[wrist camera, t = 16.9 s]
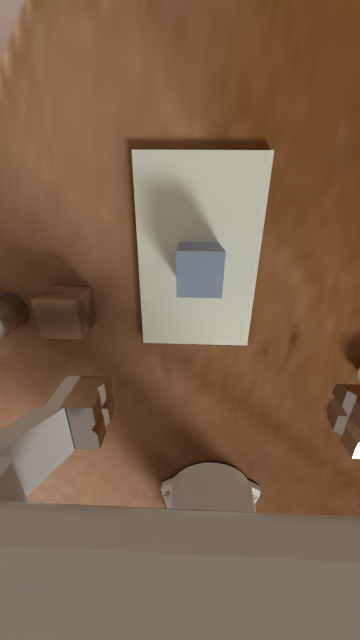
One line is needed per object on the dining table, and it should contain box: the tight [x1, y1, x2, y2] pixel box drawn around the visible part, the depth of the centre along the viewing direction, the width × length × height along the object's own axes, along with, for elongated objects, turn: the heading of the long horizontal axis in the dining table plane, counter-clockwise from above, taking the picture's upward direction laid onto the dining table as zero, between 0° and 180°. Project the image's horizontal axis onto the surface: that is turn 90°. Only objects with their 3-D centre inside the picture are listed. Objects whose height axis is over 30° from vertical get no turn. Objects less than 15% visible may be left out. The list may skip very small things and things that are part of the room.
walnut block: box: [30, 286, 96, 339], centre depth 31 cm, size 5×5×5 cm
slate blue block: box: [176, 242, 226, 298], centre depth 26 cm, size 4×4×6 cm
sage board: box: [132, 150, 274, 345], centre depth 30 cm, size 22×14×1 cm, turn 0°
